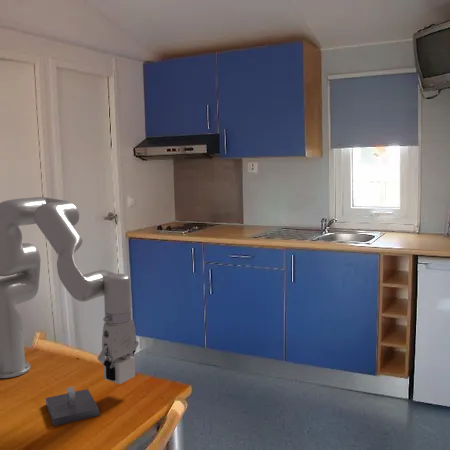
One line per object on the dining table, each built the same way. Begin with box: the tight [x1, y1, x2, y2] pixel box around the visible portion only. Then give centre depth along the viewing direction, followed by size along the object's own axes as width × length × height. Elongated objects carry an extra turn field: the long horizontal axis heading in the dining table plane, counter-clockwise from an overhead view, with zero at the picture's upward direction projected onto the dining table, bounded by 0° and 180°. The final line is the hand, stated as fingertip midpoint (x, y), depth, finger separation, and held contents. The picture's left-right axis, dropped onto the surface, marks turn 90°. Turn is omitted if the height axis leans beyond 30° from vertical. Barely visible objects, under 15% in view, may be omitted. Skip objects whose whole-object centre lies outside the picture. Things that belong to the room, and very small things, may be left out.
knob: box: [103, 355, 136, 385], centre depth 154 cm, size 6×6×6 cm
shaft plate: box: [45, 386, 100, 427], centre depth 146 cm, size 14×12×6 cm
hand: (119, 374), depth 154 cm, fingers closed on knob, 6 cm apart
